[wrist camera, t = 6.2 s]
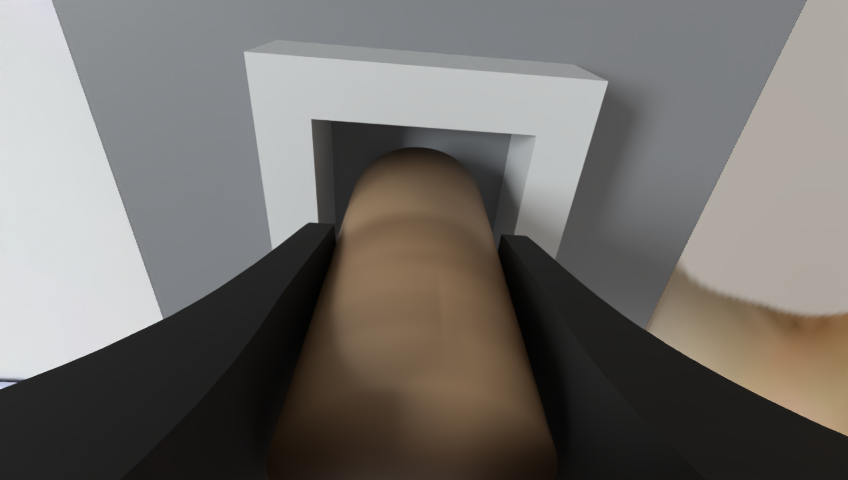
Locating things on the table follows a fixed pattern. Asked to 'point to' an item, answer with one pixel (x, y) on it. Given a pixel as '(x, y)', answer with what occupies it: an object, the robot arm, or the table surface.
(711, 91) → the grey flat piece
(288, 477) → the walnut peg
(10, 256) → the table surface
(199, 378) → the robot arm
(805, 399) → the table surface
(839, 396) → the table surface
